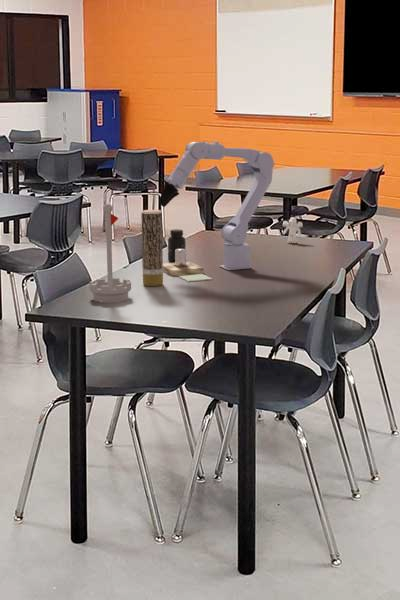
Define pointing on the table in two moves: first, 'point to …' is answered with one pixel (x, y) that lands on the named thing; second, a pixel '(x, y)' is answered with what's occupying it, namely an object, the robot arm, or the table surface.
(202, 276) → the sage mat
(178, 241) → the supplement bottle
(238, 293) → the table surface
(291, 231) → the hat wearing toy figure
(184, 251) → the clear glass cup
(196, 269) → the plate
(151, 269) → the paper tube
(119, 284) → the flag stand
